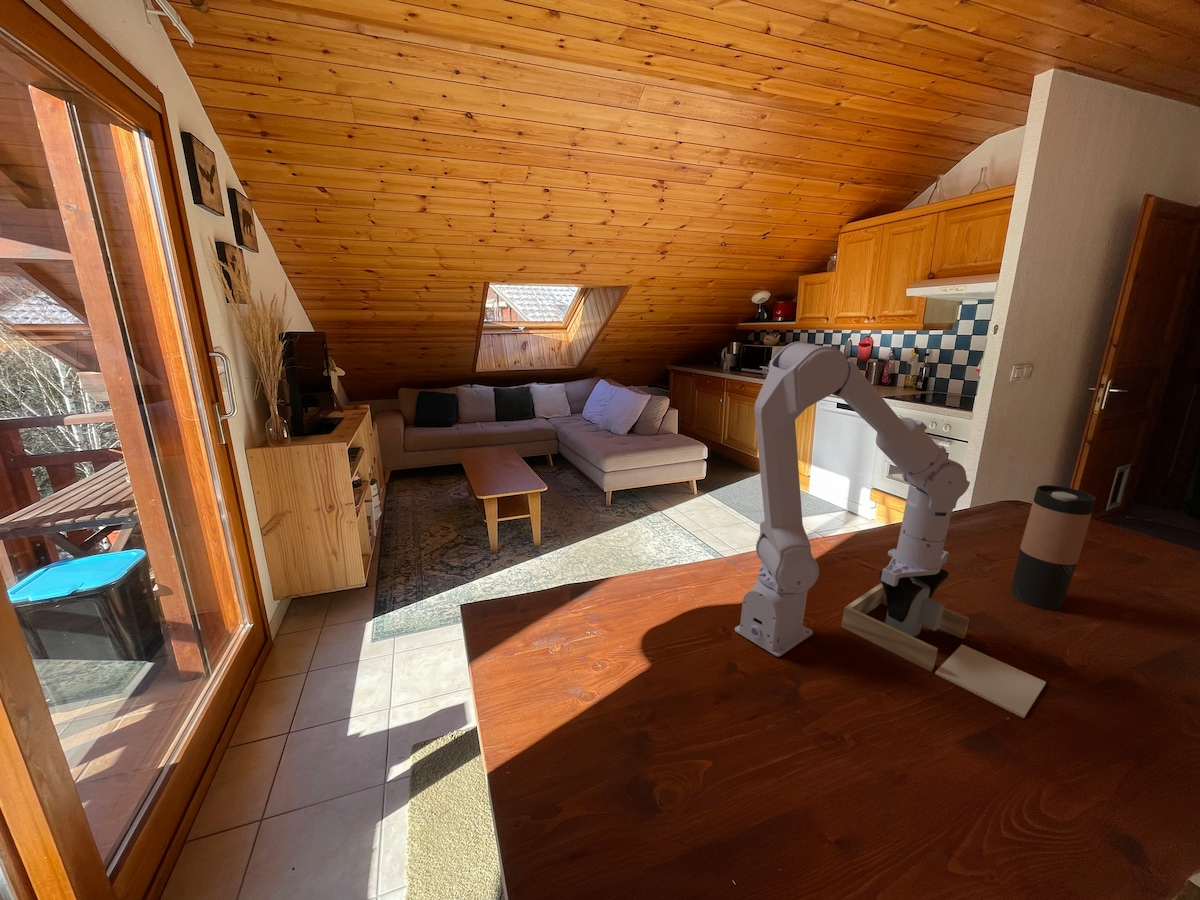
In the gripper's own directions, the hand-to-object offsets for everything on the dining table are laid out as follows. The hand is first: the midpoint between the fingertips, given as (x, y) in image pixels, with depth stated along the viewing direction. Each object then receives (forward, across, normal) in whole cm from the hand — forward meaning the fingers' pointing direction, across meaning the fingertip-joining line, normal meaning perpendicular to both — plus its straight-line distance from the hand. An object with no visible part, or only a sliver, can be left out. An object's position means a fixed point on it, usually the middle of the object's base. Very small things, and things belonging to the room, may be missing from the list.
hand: (905, 613), depth 80 cm
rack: (+3, 0, 0) cm, 3 cm away
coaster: (+3, 0, +12) cm, 13 cm away
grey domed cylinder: (+2, 0, +1) cm, 3 cm away
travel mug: (+3, -31, +6) cm, 32 cm away
